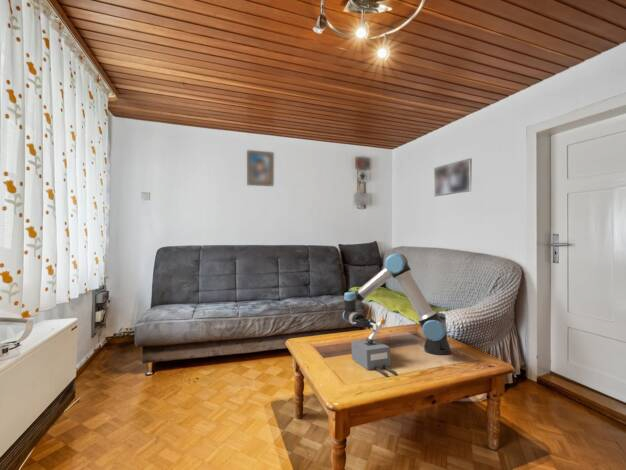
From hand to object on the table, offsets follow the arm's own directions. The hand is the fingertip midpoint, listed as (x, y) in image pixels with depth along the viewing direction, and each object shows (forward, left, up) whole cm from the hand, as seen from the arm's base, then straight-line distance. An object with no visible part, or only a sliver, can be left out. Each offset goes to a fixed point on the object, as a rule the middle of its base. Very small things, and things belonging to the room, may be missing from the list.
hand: (377, 327), depth 154 cm
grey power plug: (+1, +2, -20) cm, 20 cm away
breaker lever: (+6, 0, -9) cm, 11 cm away
